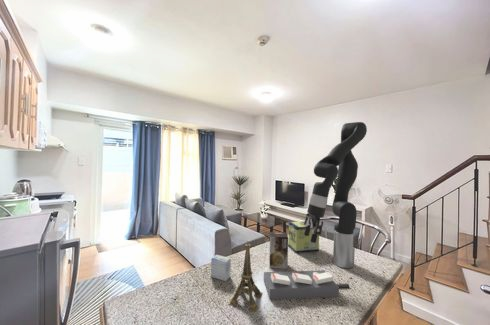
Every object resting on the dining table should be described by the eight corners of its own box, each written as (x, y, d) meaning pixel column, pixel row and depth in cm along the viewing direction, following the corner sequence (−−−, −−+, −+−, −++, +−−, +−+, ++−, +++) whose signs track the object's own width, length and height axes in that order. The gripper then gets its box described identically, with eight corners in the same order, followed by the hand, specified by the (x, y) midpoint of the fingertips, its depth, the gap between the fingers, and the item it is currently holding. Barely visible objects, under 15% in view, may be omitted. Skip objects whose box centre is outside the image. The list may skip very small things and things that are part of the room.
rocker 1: (286, 279, 84) (287, 275, 84) (289, 285, 80) (290, 280, 80) (270, 277, 83) (271, 273, 83) (272, 282, 80) (273, 278, 80)
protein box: (287, 246, 128) (288, 221, 128) (309, 244, 132) (310, 220, 132) (295, 253, 118) (296, 227, 118) (319, 251, 122) (320, 225, 122)
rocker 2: (307, 279, 85) (308, 275, 85) (311, 284, 81) (312, 280, 81) (291, 276, 84) (292, 272, 84) (294, 281, 81) (295, 277, 81)
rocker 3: (328, 275, 86) (328, 271, 86) (333, 280, 82) (332, 276, 82) (313, 279, 85) (312, 275, 85) (317, 284, 82) (316, 280, 82)
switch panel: (340, 278, 94) (340, 268, 94) (357, 296, 82) (357, 284, 82) (263, 281, 90) (263, 270, 90) (269, 299, 78) (270, 287, 78)
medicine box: (230, 277, 92) (231, 258, 92) (225, 282, 88) (226, 262, 88) (216, 272, 96) (216, 254, 96) (210, 277, 92) (211, 258, 92)
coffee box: (286, 263, 107) (287, 232, 106) (287, 269, 100) (288, 237, 100) (268, 261, 108) (269, 231, 107) (269, 268, 101) (270, 235, 101)
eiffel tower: (256, 312, 71) (258, 241, 71) (228, 304, 75) (230, 237, 74) (262, 293, 82) (264, 231, 81) (237, 287, 85) (239, 228, 84)
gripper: (332, 210, 88) (323, 246, 88) (318, 203, 102) (311, 235, 102) (315, 206, 87) (307, 243, 87) (304, 200, 102) (297, 231, 101)
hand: (309, 238), depth 94 cm, fingers open, 8 cm apart
